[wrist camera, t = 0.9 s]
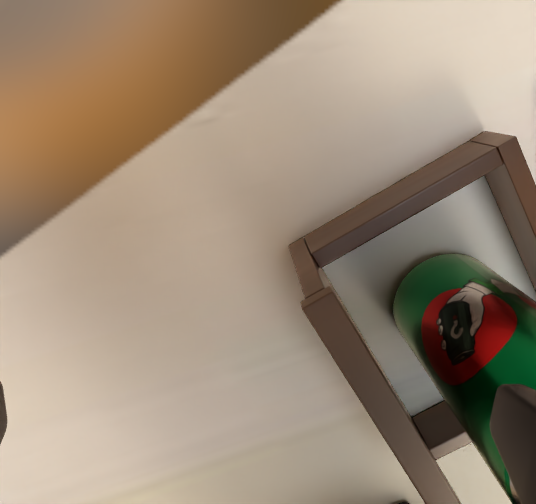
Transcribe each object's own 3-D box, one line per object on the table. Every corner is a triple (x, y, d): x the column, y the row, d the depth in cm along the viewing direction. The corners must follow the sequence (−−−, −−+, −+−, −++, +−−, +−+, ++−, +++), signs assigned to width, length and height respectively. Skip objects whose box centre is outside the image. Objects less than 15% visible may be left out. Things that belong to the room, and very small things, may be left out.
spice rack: (577, 346, 25) (688, 431, 19) (400, 436, 26) (451, 544, 20) (485, 130, 21) (587, 148, 15) (284, 247, 23) (301, 309, 16)
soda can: (383, 344, 24) (509, 567, 13) (396, 248, 23) (551, 408, 12) (481, 344, 25) (686, 563, 13) (500, 250, 23) (751, 408, 12)
